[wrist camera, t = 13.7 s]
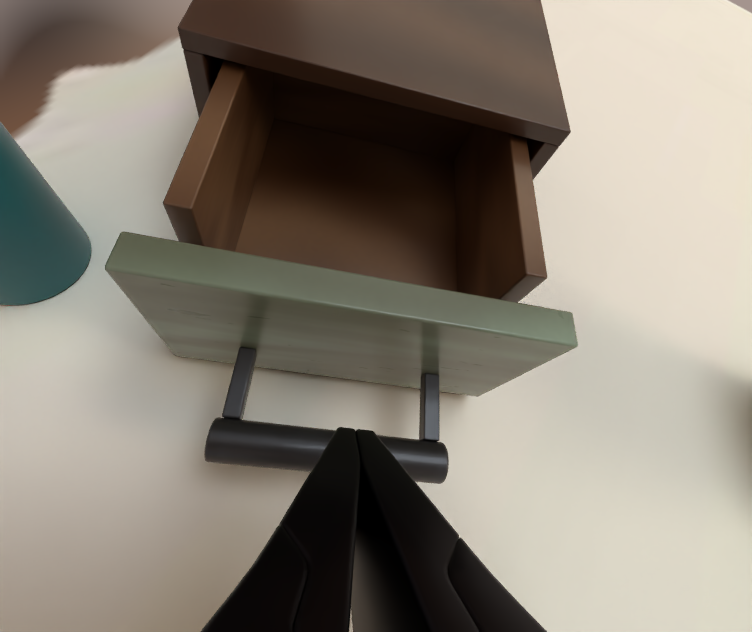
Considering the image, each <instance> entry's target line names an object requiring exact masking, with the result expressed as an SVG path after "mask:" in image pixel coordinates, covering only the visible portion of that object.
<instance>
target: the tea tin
mask: <svg viewBox="0 0 752 632" xmlns="http://www.w3.org/2000/svg"><path fill="white" fill-rule="evenodd" d="M90 256H91V244H90V240H89V237H88V236H87V234H86V232H85V231H84V230H83V228H82V227H81V226H80V224H79V223H78V222H77V220H76V219H75V218H74V217H73V215H72V214H71V213H70V211H69V210H68V209H67V207H66V206H65V205H64V204H63V202H62V201H61V200H60V198H59V197H58V196H57V194H56V193H55V192H54V191H53V189H52V188H51V187H50V185H49V184H48V183H47V181H46V180H45V179H44V178H43V176H42V175H41V174H40V172H39V171H38V170H37V169H36V167H35V166H34V165H33V163H32V162H31V161H30V159H29V158H28V157H27V156H26V154H25V153H24V152H23V150H22V149H21V148H20V146H19V145H18V144H17V143H16V141H15V140H14V139H13V137H12V136H11V135H10V133H9V132H8V131H7V130H6V128H5V127H4V126H3V124H2V123H1V122H0V305H23V304H30V303H35V302H38V301H42V300H45V299H47V298H50V297H53V296H55V295H56V294H58V293H60V292H62V291H64V290H65V289H67V288H68V287H69V286H71V285H72V284H73V283H74V282H75V281H76V280H77V279H78V278H79V277H80V276H81V275H82V274H83V272H84V271H85V269H86V267H87V265H88V263H89V261H90Z"/></svg>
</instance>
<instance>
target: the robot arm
mask: <svg viewBox="0 0 752 632" xmlns="http://www.w3.org/2000/svg"><path fill="white" fill-rule="evenodd" d="M458 538H459V535H458V533H457V532H456V531H455V530H454V529H453V527H452V526H451V525H450V524H449V523H448V521H447V520H446V519H445V518H444V516H443V515H442V514H441V513H440V512H439V510H438V509H437V508H436V507H435V506H434V504H433V503H432V502H431V501H430V499H429V498H428V497H427V496H426V495H425V493H424V492H423V491H422V490H421V489H420V487H419V486H418V485H417V484H416V482H415V481H414V480H413V479H412V478H411V476H410V475H409V474H408V473H407V472H406V470H405V469H404V468H403V467H402V465H401V464H400V463H399V462H398V461H397V459H396V458H395V457H394V456H393V455H392V453H391V452H390V451H389V450H388V448H387V447H386V446H385V445H384V444H383V442H382V441H381V440H380V439H379V438H378V436H377V435H376V434H375V433H374V432H373V431H369V430H360V429H358V430H356V431H355V430H354V429H352V428H343V427H339V428H337V430H336V431H335V433H334V435H333V436H332V438H331V440H330V441H329V443H328V444H327V446H326V448H325V449H324V451H323V453H322V454H321V456H320V458H319V459H318V461H317V463H316V464H315V466H314V468H313V469H312V471H311V473H310V474H309V476H308V477H307V479H306V481H305V482H304V484H303V486H302V487H301V489H300V491H299V492H298V494H297V496H296V497H295V499H294V501H293V502H292V504H291V505H290V507H289V509H288V510H287V512H286V514H285V515H284V517H283V519H282V520H281V522H280V524H279V526H278V527H277V528H276V530H275V531H274V533H273V535H272V536H271V538H270V540H269V541H268V543H267V544H266V546H265V547H264V549H263V550H262V552H261V553H260V555H259V556H258V558H257V559H256V561H255V562H254V564H253V565H252V567H251V568H250V569H249V571H248V572H247V573H246V575H245V576H244V577H243V579H242V580H241V581H240V583H239V584H238V585H237V587H236V588H235V589H234V591H233V592H232V593H231V594H230V595H229V597H228V598H227V599H226V600H225V602H224V603H223V604H222V605H221V607H220V608H219V609H218V610H217V612H216V613H215V614H214V615H213V617H212V618H211V619H210V620H209V622H208V623H207V624H206V625H205V627H204V628H203V629H202V630H201V632H349V623H350V610H351V612H352V624H353V632H547V631H546V630H545V629H544V628H543V627H542V626H541V625H540V624H539V623H538V622H537V621H536V620H535V619H534V618H533V617H532V616H531V615H530V614H529V613H528V612H527V611H526V610H525V609H524V608H523V607H522V606H521V605H520V604H519V602H518V601H517V600H516V599H515V598H514V597H513V596H512V595H511V594H510V593H509V592H508V591H507V590H506V589H505V588H504V587H503V585H502V584H501V583H500V582H499V581H498V580H497V579H496V578H495V577H494V576H493V575H492V574H491V572H490V571H489V570H488V569H487V568H486V567H485V565H484V564H483V563H482V562H481V561H480V560H479V558H478V557H477V556H476V555H475V554H474V553H473V551H472V550H471V549H470V548H469V547H468V545H467V544H466V543H465V542H464V541H463V539H462V538H459V539H458Z"/></svg>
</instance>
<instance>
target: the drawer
mask: <svg viewBox="0 0 752 632" xmlns="http://www.w3.org/2000/svg"><path fill="white" fill-rule="evenodd" d="M163 205H164V207H165V209H166V212H167V214H168V216H169V219H170V221H171V223H172V226H173V228H174V231H175V233H176V235H177V238H178V240H179V241H173V240H167V239H162V238H156V237H151V236H145V235H140V234H134V233H129V232H121V233H120V235H119V237H118V239H117V242H116V244H115V246H114V248H113V250H112V252H111V254H110V256H109V259H108V261H107V263H106V265H105V270H106V271H107V272H108V274H109V275H110V276H111V277H112V278H113V280H114V281H115V282H116V283H117V285H118V286H119V287H120V288H121V290H122V291H123V292H124V293H125V294H126V296H127V297H128V298H129V299H130V301H131V302H132V303H133V304H134V306H135V307H136V308H137V309H138V311H139V312H140V313H141V314H142V315H143V317H144V318H145V319H146V320H147V322H148V323H149V324H150V325H151V327H152V328H153V329H154V330H155V331H156V333H157V334H158V335H159V336H160V338H161V339H162V340H163V341H164V343H165V344H166V345H167V346H168V348H169V349H170V350H171V351H172V352H173V354H174V355H175V356H181V357H188V358H196V359H203V360H211V361H218V362H225V363H233V364H235V366H234V370H233V374H232V378H231V382H230V386H229V390H228V394H227V398H226V402H225V406H224V410H223V413H222V416H223V417H224V418H220V417H218V418H215V420H214V421H213V423H212V425H211V427H210V430H209V433H208V436H207V440H206V445H205V460H206V461H207V462H212V463H223V464H233V465H244V466H255V467H266V468H276V469H287V470H298V471H308V472H311V471H312V469H313V468H314V466H315V464H316V463H317V461H318V459H319V458H320V456H321V454H322V453H323V451H324V449H325V448H326V446H327V444H328V443H329V441H330V440H331V438H332V436H333V435H334V433H335V431H336V430H327V429H318V428H309V427H300V426H291V425H282V424H273V423H264V422H256V421H247V420H242V418H243V414H244V409H245V405H246V400H247V396H248V392H249V387H250V383H251V379H252V374H253V370H254V366H255V367H263V368H270V369H277V370H285V371H292V372H300V373H307V374H314V375H322V376H329V377H337V378H344V379H352V380H359V381H366V382H374V383H381V384H389V385H396V386H404V387H411V388H418V389H420V427H419V440H416V439H407V438H398V437H389V436H380V435H377V436H378V438H379V439H380V440H381V441H382V442H383V444H384V445H385V446H386V447H387V448H388V450H389V451H390V452H391V453H392V455H393V456H394V457H395V458H396V459H397V461H398V462H399V463H400V464H401V465H402V467H403V468H404V469H405V470H406V472H407V473H408V474H409V475H410V476H411V478H412V479H413V480H414V481H415V482H426V483H437V484H440V483H443V482H444V481H445V479H446V476H447V472H448V452H447V449H446V446H445V445H444V444H443V443H441V442H437V441H439V391H441V392H448V393H455V394H463V395H470V396H480V395H482V394H484V393H486V392H488V391H490V390H492V389H494V388H496V387H498V386H500V385H502V384H504V383H506V382H508V381H510V380H512V379H514V378H516V377H518V376H520V375H522V374H524V373H526V372H528V371H530V370H532V369H534V368H536V367H538V366H540V365H542V364H544V363H546V362H548V361H550V360H552V359H554V358H556V357H558V356H560V355H562V354H564V353H566V352H568V351H570V350H572V349H574V348H576V347H577V345H578V343H577V337H576V332H575V326H574V320H573V315H572V313H571V312H566V311H561V310H555V309H550V308H544V307H538V306H533V305H527V304H522V303H518V302H519V301H520V300H521V299H522V298H524V297H525V296H526V295H527V294H528V293H530V292H531V291H532V290H533V289H535V288H536V287H537V286H538V285H539V284H541V283H542V282H543V281H544V280H545V279H546V278H547V272H546V266H545V259H544V252H543V246H542V239H541V232H540V226H539V219H538V212H537V206H536V199H535V192H534V186H533V179H532V172H531V166H530V159H529V152H528V146H527V139H526V137H522V136H518V135H515V134H511V133H507V132H503V131H499V130H495V129H491V128H487V127H484V126H480V125H476V124H472V123H468V122H464V121H460V120H456V119H453V118H449V117H445V116H441V115H437V114H433V113H429V112H425V111H422V110H418V109H414V108H410V107H406V106H402V105H398V104H394V103H391V102H387V101H383V100H379V99H375V98H371V97H367V96H363V95H360V94H356V93H352V92H348V91H344V90H340V89H336V88H332V87H329V86H325V85H321V84H317V83H313V82H309V81H305V80H301V79H298V78H294V77H290V76H286V75H282V74H278V73H274V72H270V71H267V70H263V69H259V68H255V67H251V66H247V65H243V64H239V63H236V62H232V61H228V60H224V62H223V64H222V66H221V68H220V71H219V73H218V75H217V78H216V80H215V82H214V85H213V87H212V89H211V92H210V94H209V96H208V99H207V101H206V103H205V106H204V108H203V110H202V113H201V115H200V117H199V120H198V122H197V124H196V127H195V129H194V131H193V134H192V136H191V138H190V141H189V143H188V145H187V148H186V150H185V152H184V155H183V157H182V159H181V162H180V164H179V166H178V169H177V171H176V173H175V176H174V178H173V180H172V183H171V185H170V187H169V190H168V192H167V194H166V197H165V199H164V201H163Z"/></svg>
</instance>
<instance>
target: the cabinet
mask: <svg viewBox="0 0 752 632" xmlns="http://www.w3.org/2000/svg"><path fill="white" fill-rule="evenodd" d="M178 31H179V35H180V40H181V44H182V48H183V49H184V55H185V59H186V64H187V68H188V72H189V77H190V81H191V85H192V89H193V94H194V98H195V102H196V107H197V111H198V115H199V117H200V115H201V113H202V110H203V108H204V106H205V103H206V101H207V99H208V96H209V94H210V92H211V89H212V87H213V85H214V82H215V80H216V78H217V75H218V73H219V71H220V68H221V66H222V64H223V62H224V60H228V61H232V62H236V63H239V64H243V65H247V66H251V67H255V68H259V69H263V70H267V71H270V72H274V73H278V74H282V75H286V76H290V77H294V78H298V79H301V80H305V81H309V82H313V83H317V84H321V85H325V86H329V87H332V88H336V89H340V90H344V91H348V92H352V93H356V94H360V95H363V96H367V97H371V98H375V99H379V100H383V101H387V102H391V103H394V104H398V105H402V106H406V107H410V108H414V109H418V110H422V111H425V112H429V113H433V114H437V115H441V116H445V117H449V118H453V119H456V120H460V121H464V122H468V123H472V124H476V125H480V126H484V127H487V128H491V129H495V130H499V131H503V132H507V133H511V134H515V135H518V136H522V137H526V139H527V146H528V152H529V159H530V166H531V172H532V179H534V178H535V177H536V175H537V174H538V173H539V171H540V170H541V169H542V168H543V166H544V165H545V164H546V163H547V161H548V160H549V159H550V157H551V156H552V155H553V154H554V152H555V151H556V150H557V149H558V147H559V146H560V145H561V144H562V142H563V141H564V140H565V139H566V137H567V136H568V135H569V134H570V132H571V131H570V126H569V122H568V118H567V113H566V109H565V105H564V100H563V96H562V91H561V87H560V83H559V78H558V74H557V70H556V65H555V61H554V56H553V52H552V48H551V43H550V39H549V35H548V30H547V26H546V22H545V17H544V13H543V8H542V4H541V0H193V1H192V2H191V4H190V6H189V8H188V10H187V12H186V13H185V15H184V17H183V19H182V20H181V22H180V24H179V26H178Z"/></svg>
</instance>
